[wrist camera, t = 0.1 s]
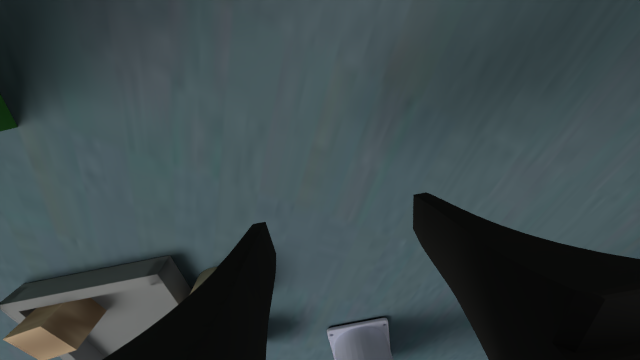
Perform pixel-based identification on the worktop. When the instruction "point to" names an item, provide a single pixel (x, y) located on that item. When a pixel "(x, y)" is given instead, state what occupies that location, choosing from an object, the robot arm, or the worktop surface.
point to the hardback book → (5, 117)
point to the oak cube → (56, 328)
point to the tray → (108, 301)
